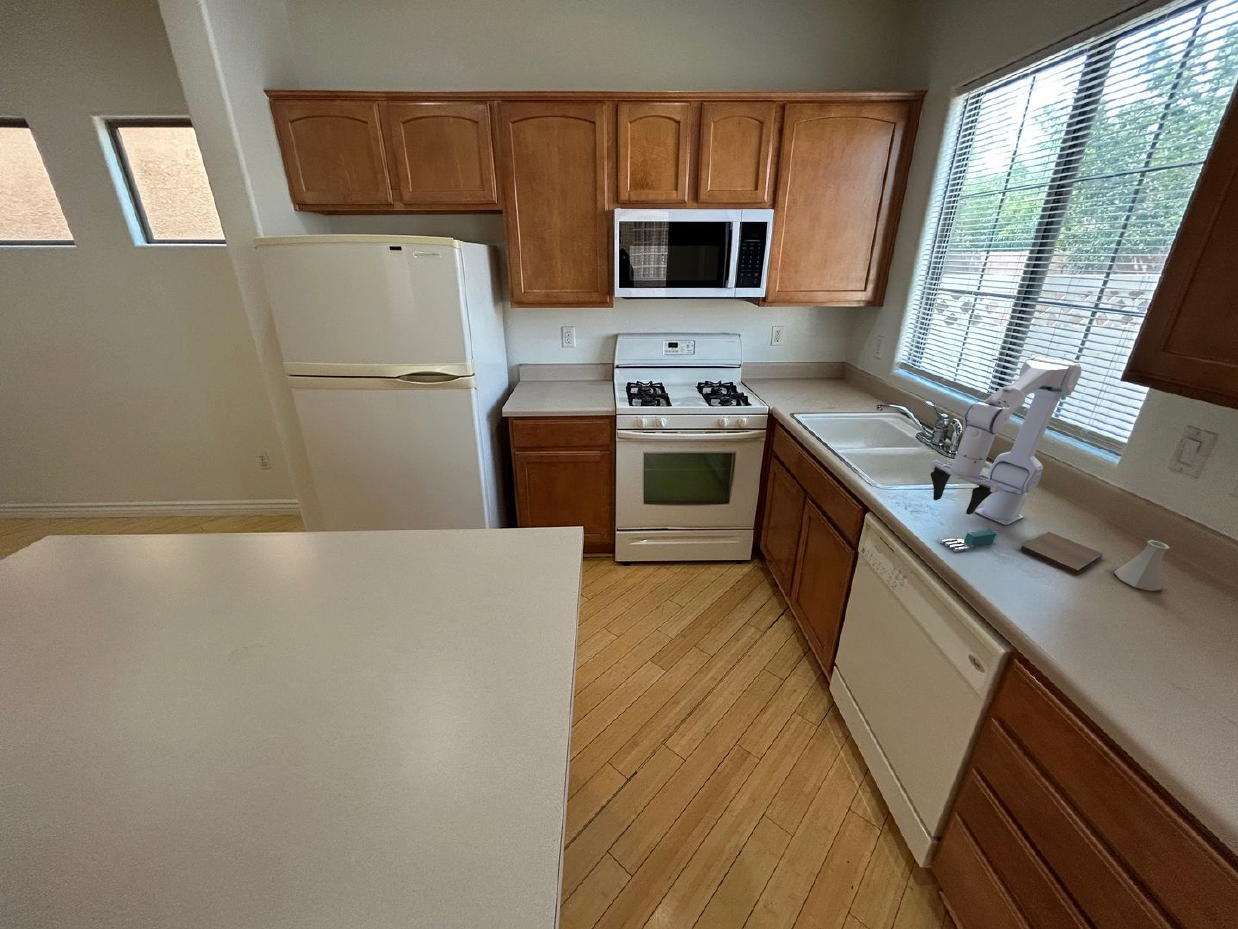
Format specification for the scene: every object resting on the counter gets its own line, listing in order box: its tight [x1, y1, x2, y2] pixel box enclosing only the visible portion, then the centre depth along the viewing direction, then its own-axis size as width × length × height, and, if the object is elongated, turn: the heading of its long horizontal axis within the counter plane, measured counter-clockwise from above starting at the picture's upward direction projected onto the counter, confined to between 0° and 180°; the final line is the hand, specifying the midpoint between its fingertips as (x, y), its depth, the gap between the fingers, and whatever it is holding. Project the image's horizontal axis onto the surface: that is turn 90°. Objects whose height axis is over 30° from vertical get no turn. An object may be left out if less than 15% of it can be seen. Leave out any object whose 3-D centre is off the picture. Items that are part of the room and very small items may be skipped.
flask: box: [1113, 539, 1171, 592], centre depth 104 cm, size 7×7×10 cm
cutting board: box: [1019, 531, 1104, 576], centre depth 115 cm, size 14×11×2 cm
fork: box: [940, 529, 998, 553], centre depth 118 cm, size 13×4×3 cm, turn 104°
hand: (952, 506), depth 115 cm, fingers open, 7 cm apart
